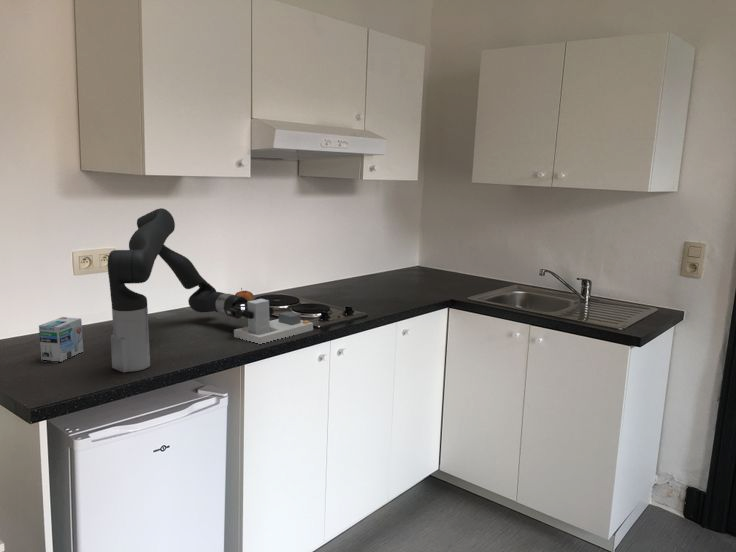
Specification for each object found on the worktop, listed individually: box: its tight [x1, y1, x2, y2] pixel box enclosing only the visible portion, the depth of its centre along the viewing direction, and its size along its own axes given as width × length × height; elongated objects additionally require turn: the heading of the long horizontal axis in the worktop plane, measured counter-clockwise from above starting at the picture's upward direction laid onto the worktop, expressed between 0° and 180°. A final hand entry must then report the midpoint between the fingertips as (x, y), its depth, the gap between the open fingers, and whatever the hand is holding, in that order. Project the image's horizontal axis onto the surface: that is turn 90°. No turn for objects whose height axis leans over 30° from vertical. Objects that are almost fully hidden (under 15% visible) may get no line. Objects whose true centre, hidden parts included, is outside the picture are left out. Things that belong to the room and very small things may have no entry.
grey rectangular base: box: [233, 311, 314, 345], centre depth 211 cm, size 24×13×6 cm, turn 140°
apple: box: [234, 287, 254, 301], centre depth 245 cm, size 7×7×8 cm
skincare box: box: [247, 298, 271, 335], centre depth 205 cm, size 6×4×12 cm
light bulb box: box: [38, 316, 84, 362], centre depth 182 cm, size 11×7×11 cm, turn 170°
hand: (263, 313), depth 203 cm, fingers open, 8 cm apart
